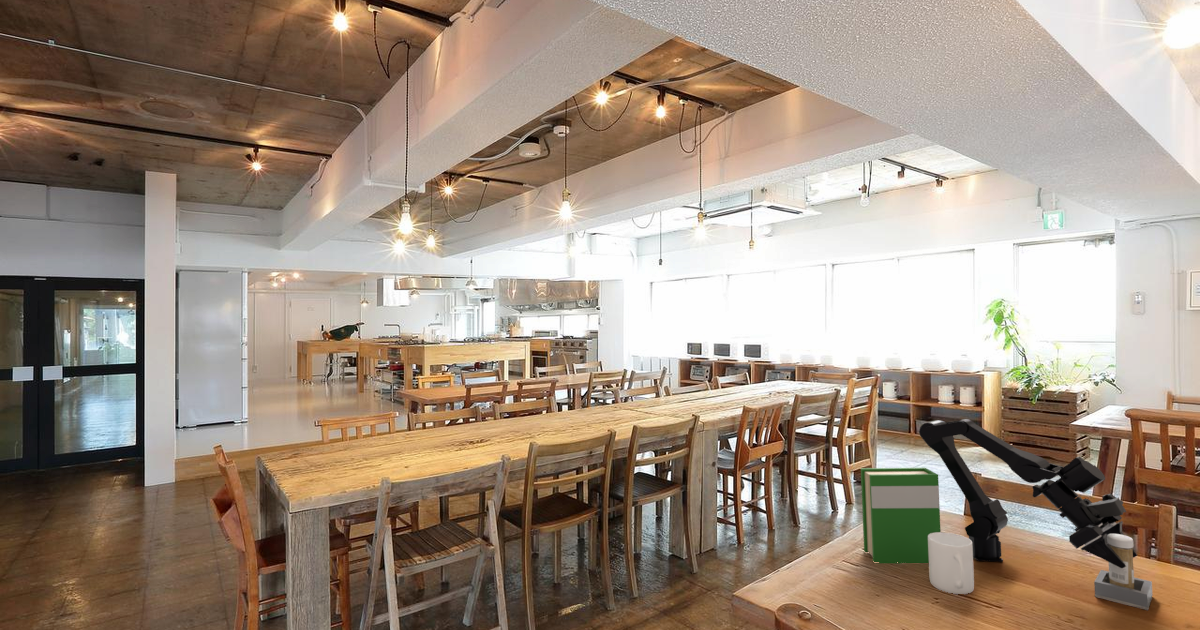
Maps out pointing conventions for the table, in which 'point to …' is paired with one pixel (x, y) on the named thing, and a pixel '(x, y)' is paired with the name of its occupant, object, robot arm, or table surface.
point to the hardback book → (899, 513)
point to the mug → (951, 562)
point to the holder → (1124, 591)
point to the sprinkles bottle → (1125, 552)
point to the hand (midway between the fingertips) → (1129, 561)
